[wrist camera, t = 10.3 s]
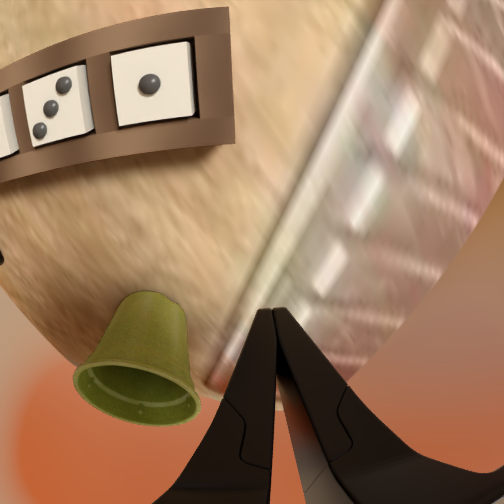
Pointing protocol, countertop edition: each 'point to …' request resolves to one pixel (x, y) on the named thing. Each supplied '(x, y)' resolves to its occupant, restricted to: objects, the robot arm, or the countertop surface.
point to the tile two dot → (7, 128)
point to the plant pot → (142, 365)
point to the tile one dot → (155, 83)
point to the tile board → (103, 96)
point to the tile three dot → (59, 105)
